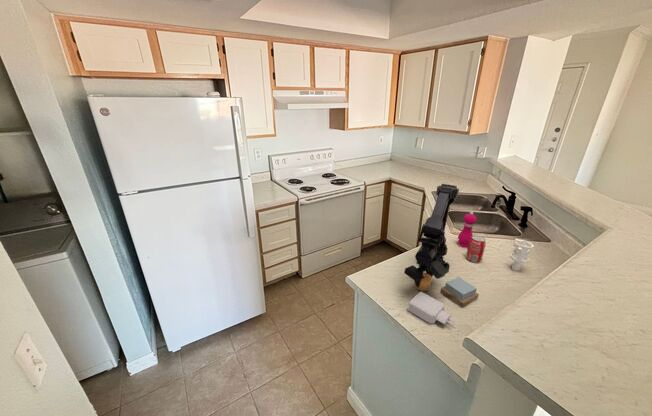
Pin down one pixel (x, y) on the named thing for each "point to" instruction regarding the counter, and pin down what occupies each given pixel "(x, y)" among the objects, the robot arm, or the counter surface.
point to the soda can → (475, 248)
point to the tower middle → (460, 288)
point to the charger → (429, 309)
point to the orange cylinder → (425, 282)
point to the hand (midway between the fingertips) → (422, 284)
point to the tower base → (457, 300)
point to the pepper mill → (467, 230)
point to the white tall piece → (520, 253)
